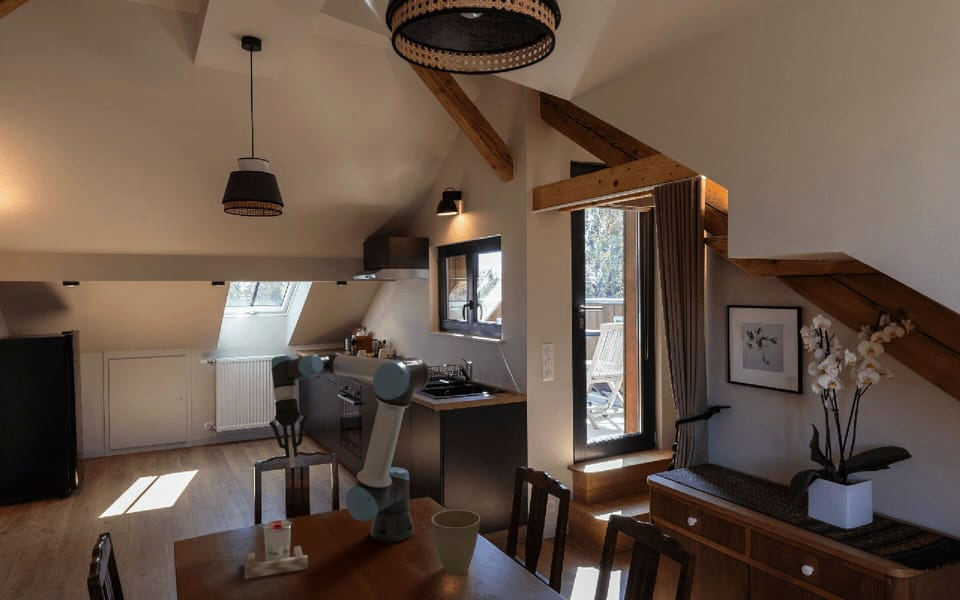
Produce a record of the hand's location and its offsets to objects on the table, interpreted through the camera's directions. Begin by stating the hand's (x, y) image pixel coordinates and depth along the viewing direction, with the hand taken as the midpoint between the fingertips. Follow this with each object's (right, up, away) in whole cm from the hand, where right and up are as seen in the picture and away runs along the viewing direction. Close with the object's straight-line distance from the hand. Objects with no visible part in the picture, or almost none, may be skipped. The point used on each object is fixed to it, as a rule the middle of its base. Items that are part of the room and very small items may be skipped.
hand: (292, 467), depth 214 cm
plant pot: (+58, -25, -25) cm, 68 cm away
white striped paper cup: (+1, -25, -20) cm, 32 cm away
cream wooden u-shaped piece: (+1, -25, -22) cm, 33 cm away
